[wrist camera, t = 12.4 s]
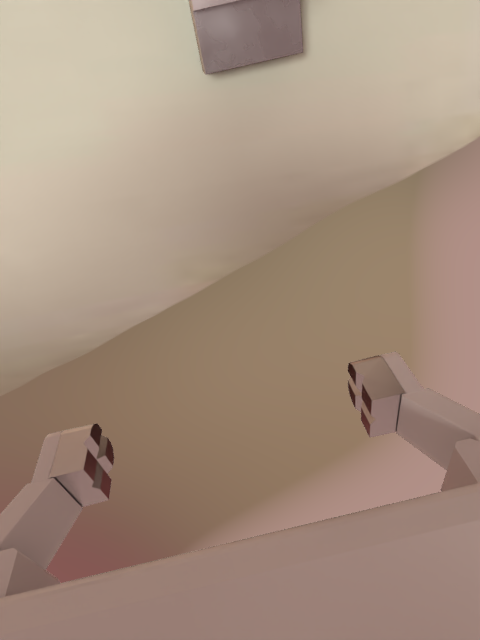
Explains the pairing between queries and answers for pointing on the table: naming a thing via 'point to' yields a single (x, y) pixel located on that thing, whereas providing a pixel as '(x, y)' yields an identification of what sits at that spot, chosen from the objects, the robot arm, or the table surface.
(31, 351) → the table surface
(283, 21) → the grey base with post
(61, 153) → the table surface
